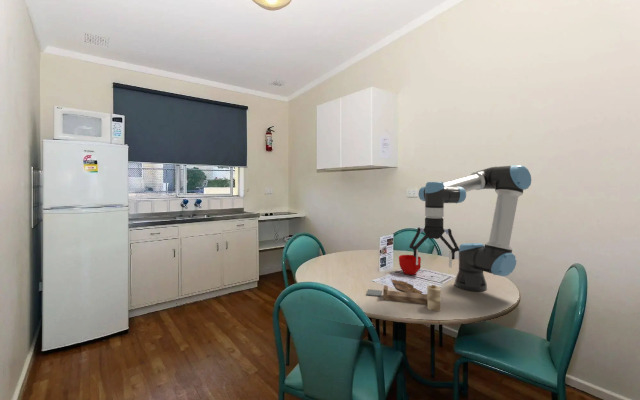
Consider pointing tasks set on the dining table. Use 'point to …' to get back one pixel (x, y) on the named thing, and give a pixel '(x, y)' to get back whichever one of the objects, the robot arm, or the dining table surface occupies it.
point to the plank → (404, 296)
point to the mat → (374, 292)
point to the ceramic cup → (409, 264)
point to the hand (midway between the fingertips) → (433, 265)
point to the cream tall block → (433, 297)
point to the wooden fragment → (405, 287)
